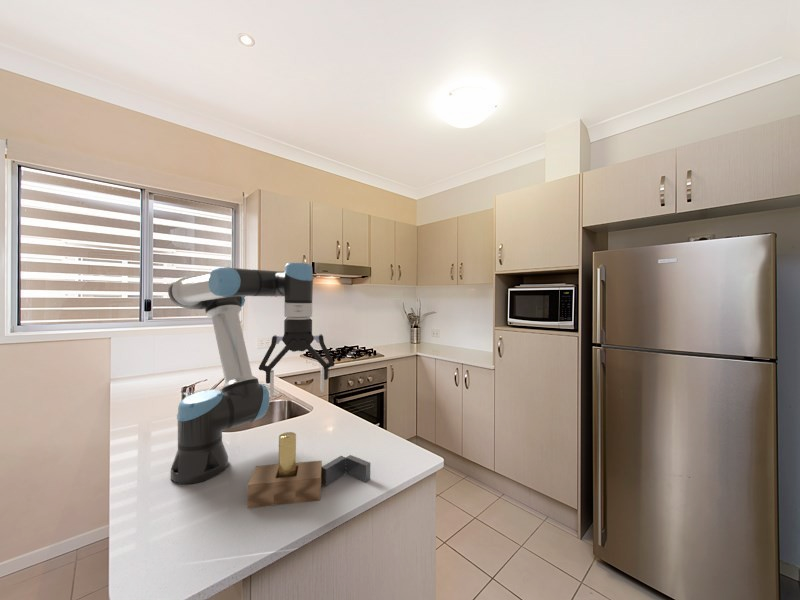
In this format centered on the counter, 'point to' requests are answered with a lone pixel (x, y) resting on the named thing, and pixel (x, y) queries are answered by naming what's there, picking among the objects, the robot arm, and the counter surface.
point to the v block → (345, 469)
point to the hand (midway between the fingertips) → (297, 392)
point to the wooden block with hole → (284, 485)
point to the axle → (287, 455)
